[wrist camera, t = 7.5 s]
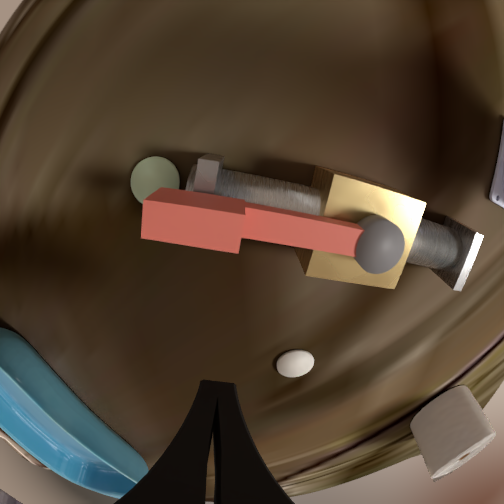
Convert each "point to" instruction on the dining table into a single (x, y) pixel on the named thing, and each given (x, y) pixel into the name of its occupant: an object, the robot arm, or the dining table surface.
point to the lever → (266, 228)
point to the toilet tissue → (451, 431)
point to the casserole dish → (61, 424)
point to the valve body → (350, 220)
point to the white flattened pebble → (295, 363)
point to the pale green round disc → (153, 177)
